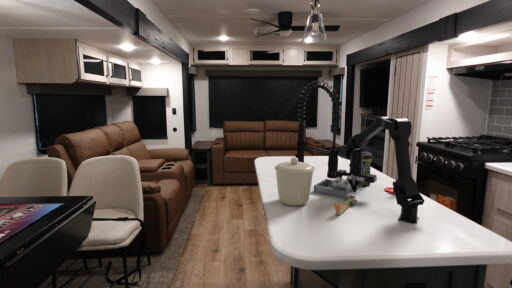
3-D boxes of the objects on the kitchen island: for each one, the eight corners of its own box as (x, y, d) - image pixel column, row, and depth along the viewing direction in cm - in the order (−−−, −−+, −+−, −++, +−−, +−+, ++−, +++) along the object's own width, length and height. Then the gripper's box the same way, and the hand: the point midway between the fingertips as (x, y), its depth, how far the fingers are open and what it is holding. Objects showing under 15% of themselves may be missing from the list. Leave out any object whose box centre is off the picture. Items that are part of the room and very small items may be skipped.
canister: (314, 197, 138) (316, 154, 135) (311, 211, 121) (313, 163, 117) (278, 194, 143) (278, 152, 139) (270, 207, 126) (270, 160, 122)
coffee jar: (357, 187, 153) (359, 153, 151) (349, 182, 161) (351, 150, 158) (373, 186, 155) (375, 152, 152) (364, 181, 163) (366, 150, 160)
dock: (353, 206, 126) (354, 198, 126) (307, 196, 140) (307, 189, 139) (368, 192, 144) (368, 186, 144) (325, 184, 158) (325, 178, 157)
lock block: (345, 196, 139) (346, 182, 138) (331, 193, 143) (332, 180, 142) (351, 191, 146) (352, 178, 145) (338, 188, 150) (339, 176, 149)
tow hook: (382, 188, 152) (387, 193, 143) (383, 165, 150) (389, 168, 141) (399, 189, 151) (405, 194, 142) (400, 165, 149) (407, 169, 140)
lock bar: (340, 215, 116) (340, 205, 115) (334, 214, 117) (334, 204, 116) (355, 201, 132) (356, 192, 131) (350, 200, 133) (351, 191, 132)
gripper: (380, 161, 139) (378, 192, 142) (343, 156, 150) (341, 185, 153) (374, 165, 130) (372, 198, 133) (335, 160, 141) (333, 190, 144)
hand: (354, 192), depth 141 cm, fingers closed
